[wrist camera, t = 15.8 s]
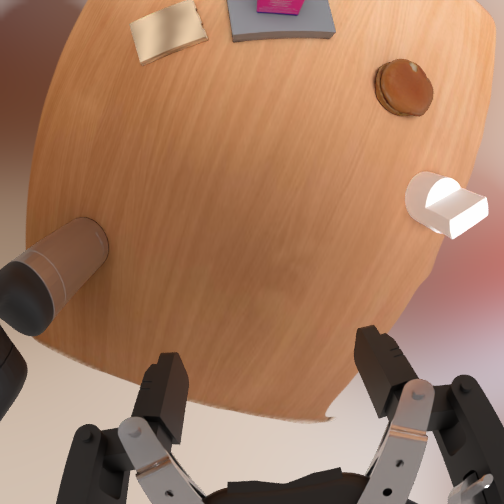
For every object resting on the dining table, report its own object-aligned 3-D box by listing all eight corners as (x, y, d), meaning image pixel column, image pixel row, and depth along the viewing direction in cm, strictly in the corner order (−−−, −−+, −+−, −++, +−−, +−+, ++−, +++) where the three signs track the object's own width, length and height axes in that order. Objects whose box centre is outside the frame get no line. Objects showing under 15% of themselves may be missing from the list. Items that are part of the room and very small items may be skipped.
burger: (379, 118, 35) (394, 116, 30) (366, 61, 31) (380, 54, 27) (426, 116, 34) (443, 116, 30) (415, 64, 31) (431, 60, 26)
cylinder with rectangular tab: (411, 230, 42) (452, 258, 31) (398, 182, 38) (444, 200, 27) (446, 210, 40) (489, 232, 29) (436, 164, 37) (484, 176, 26)
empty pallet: (143, 66, 30) (139, 63, 29) (132, 28, 27) (127, 24, 26) (208, 40, 30) (207, 36, 28) (194, 3, 27) (192, -2, 25)
